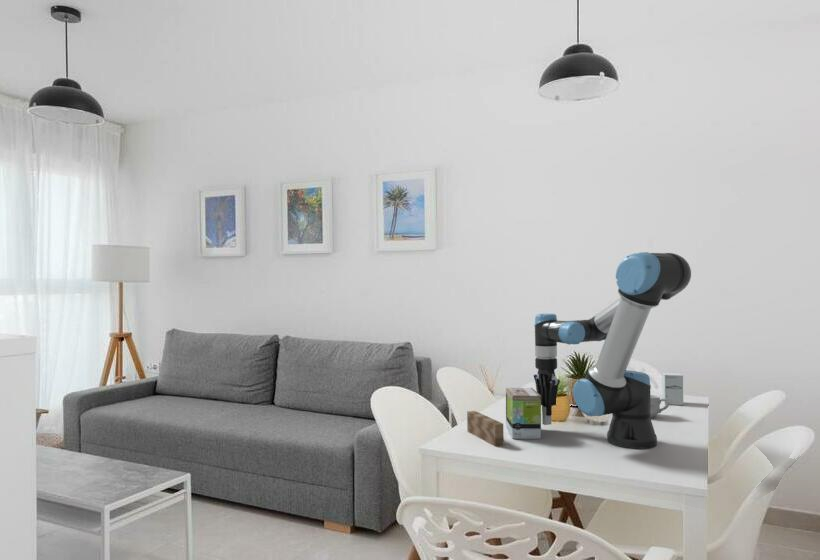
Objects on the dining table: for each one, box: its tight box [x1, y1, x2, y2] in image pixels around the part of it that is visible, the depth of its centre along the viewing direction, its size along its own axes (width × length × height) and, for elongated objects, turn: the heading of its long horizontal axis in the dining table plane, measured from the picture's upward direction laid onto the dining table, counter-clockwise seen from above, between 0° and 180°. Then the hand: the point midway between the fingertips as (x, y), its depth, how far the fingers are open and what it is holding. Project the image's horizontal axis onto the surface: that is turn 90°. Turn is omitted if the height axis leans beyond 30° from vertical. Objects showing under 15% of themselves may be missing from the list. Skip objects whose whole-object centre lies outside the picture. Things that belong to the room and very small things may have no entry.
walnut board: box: [466, 410, 505, 447], centre depth 192 cm, size 20×3×7 cm, turn 21°
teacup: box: [650, 394, 670, 418], centre depth 217 cm, size 14×11×8 cm
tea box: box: [505, 387, 542, 440], centre depth 197 cm, size 15×10×15 cm
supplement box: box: [661, 371, 684, 406], centre depth 240 cm, size 7×7×13 cm
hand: (546, 424), depth 201 cm, fingers closed
